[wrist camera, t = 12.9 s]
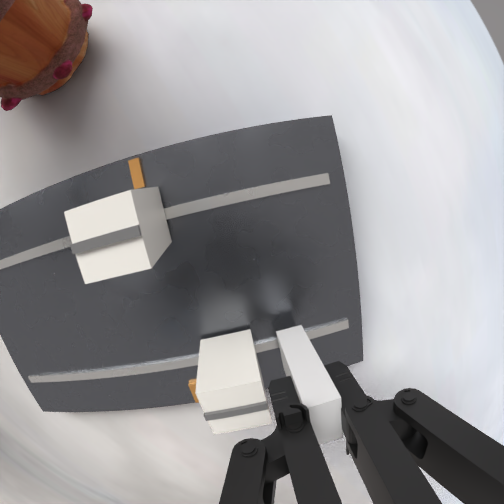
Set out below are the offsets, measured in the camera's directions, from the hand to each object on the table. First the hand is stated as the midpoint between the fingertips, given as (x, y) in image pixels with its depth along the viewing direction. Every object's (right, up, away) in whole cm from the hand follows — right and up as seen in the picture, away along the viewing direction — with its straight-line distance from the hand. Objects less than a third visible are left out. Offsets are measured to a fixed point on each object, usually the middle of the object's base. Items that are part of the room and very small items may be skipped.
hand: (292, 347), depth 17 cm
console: (-9, +3, +2) cm, 10 cm away
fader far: (-4, -1, +1) cm, 4 cm away
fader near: (-8, +7, -2) cm, 11 cm away
